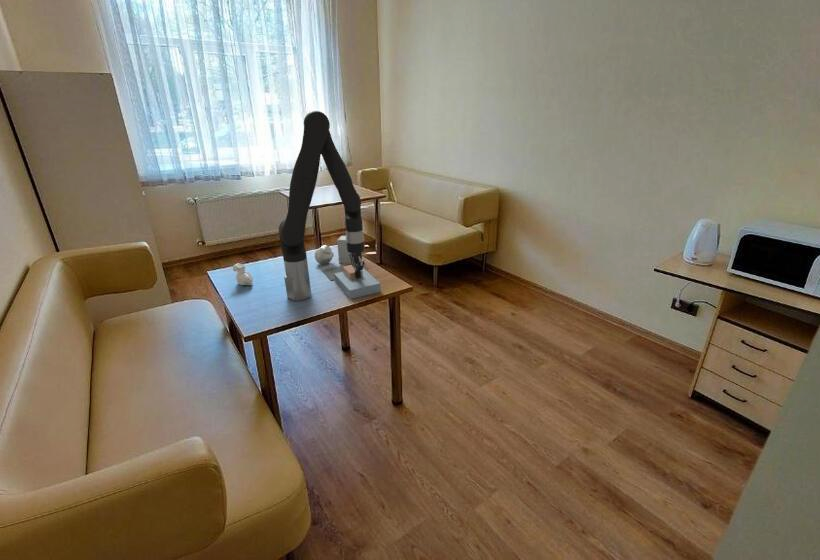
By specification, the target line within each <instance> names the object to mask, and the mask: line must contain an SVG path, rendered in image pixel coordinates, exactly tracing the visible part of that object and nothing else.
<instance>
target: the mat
mask: <svg viewBox="0 0 820 560" xmlns="http://www.w3.org/2000/svg"><path fill="white" fill-rule="evenodd" d="M348 265H352V264H344V265H340V266H335V267H330V268H324V269H321V271H322V273H323V274H324V275H325V276H326V277H327V278H328V280H329V281H330V282H333V281H335V277H334V274H335V273H339V272H343V266H348Z"/></svg>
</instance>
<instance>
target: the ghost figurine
mask: <svg viewBox="0 0 820 560" xmlns="http://www.w3.org/2000/svg"><path fill="white" fill-rule="evenodd" d="M332 250H333V249H332V248H331V247H330V246H328V245H326V244H325V245H322V246H321V247H319V248H317V249H316V250H315V252H314V259H315V262H317V263H318V264H319V265H322V266H323V265H327V264H328V265H329V264H330V263H331V261H332V260H333V258H334V255H335V254H334V252H332Z"/></svg>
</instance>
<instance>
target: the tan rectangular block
mask: <svg viewBox="0 0 820 560" xmlns="http://www.w3.org/2000/svg"><path fill="white" fill-rule="evenodd" d="M347 265H348V266H344V265H342V266H343V273H344V274H345V275H346V276H347V277H348V278H349V279H350V280H351V279H356V277H355V270H354V267H353V266H352V265H349V264H347ZM361 277H363V271H362V270H361Z"/></svg>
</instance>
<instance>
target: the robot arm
mask: <svg viewBox="0 0 820 560" xmlns="http://www.w3.org/2000/svg"><path fill="white" fill-rule="evenodd" d="M330 125H331V124H330V120H329V118H328V116H327V115H326V114H325V113H323V112H322V111H320V110H319V111H318V110H312V111H309V112H307V114H306V115H305V116H304V119H303V135H302V142H301V147H300V151H299V153H298V156H297V158H296V160H295V163H294V166H293V169H292V172H291V173H292V174H291V177H290V178H291V179H290V184H289V192H288V210H287V213H286V218H285V219H284V220H282V221H281V222H280V223H279V226H278V234H279V236H278V237H279V242H280V246H281V253H282V257H283V264H284V272H285V276H284V286H285V290H286V292H285V293H286V296H287V298H288V299H289V300H290V299H291V300H292V301H294V302H297V301H304V300H307V299H309V298H310V297H311V296H312V288H311V281H310V273H309V272H310V271H309V267H308V265H309V264H308V257H307V250H306V247H305V240H304V238H305V234H306V225H307V219H308V218H307V217H308V212H309V209H310V206H311V203H312V201H313V200H312V198H313V196H314V192H315V189H316V185H317V180H318V176H319V170H320V164H321V157H322V159H323V161H324V163H325V166H326V169H327V171H328V174H329V175H330V178H331V180H332V182H333V184H334V186H335V188H336V190H337V192H338V195H339V197H340V200H341V203H342V205H343V208H344V216H345V218H344V219H345V220H344V223H345V236H346V244H347V251H348V252H349V253H351V254H349V256H350V260H351V263H352V266H353V267H354V270H355V277H356V278H357V279H358V278H361V270H363V268H364V267H365V264H366V263H365V261H363V254H362V253H364V251H365V250H366V249H365V248H366V247H365V246H366V245H365V234H364V230H363V229H364V227H363V218H362V210H361V209H362V207H361V206H362V199H361V196H360V194H359V193H358V192H357V190H356V189H355V186H354V183H353V180H352V177H351V174H350V172H349V171H348V168H347V166H346V164H345V162H344V159H343V158H342V157H341V154H340V153H339V151H338V149H337V147H336V145H335V142H334V141H333V138H332V135H331V131H330V127H331V126H330Z"/></svg>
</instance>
